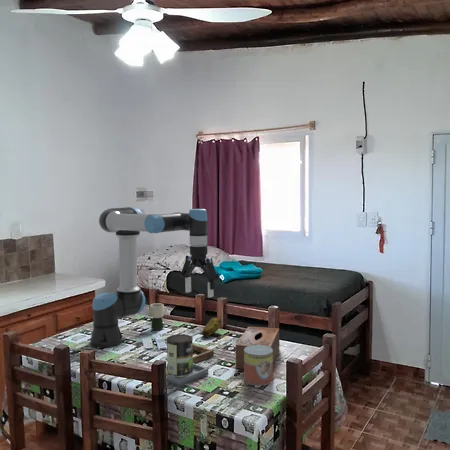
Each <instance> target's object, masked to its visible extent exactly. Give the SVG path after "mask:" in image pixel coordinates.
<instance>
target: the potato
mask: <svg viewBox="0 0 450 450" xmlns="http://www.w3.org/2000/svg"><path fill="white" fill-rule="evenodd" d="M222 324H223V320H222V319H221V318H219V317H212V318H211V319H210V320H208V322H207V323H206V325H205V326H204V328H203V329H202V336H203V337H205V338H207V337H210V336H212V335H214V334H215V333H216V332H217V331H218V330H219V329H221V328H222Z"/></svg>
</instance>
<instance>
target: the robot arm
mask: <svg viewBox="0 0 450 450" xmlns="http://www.w3.org/2000/svg"><path fill="white" fill-rule="evenodd" d="M188 212H189V213H188ZM188 212H187V213H186V212H173V213H163V214H151V213H150V214H148V213H147V214H146V213H145V214H143V212H142V211H141V210H140V209H139V208H137V207H133V206H132V207H130V206H129V207H128V206H127V207H126V206H125V207H117V208H116V207H115V208H113V207H112V208H106V210H103V212H101V214H100V215H99V218H98V224H99V226H100V228H101V229H102V230H104V231H105V232H107V233H115V235H116V237H117V238H118V252H119V253H118V255H119V256H118V257H119V259H118V262H119V267H118V268H119V286H118V287H117V288H116V292H113V291H112V292H111V291H110V292H103V293H100V294H98V295H95V297H94V298H93V299H92V306H91V307H92V321H93V322H92V324H93V329H92V333H91V336H90V340H89V344H90V346H91V347H94V348H99V349H102V348H103V349H104V348H112V347H117V346H119V345H121V344H122V343H123V335H122V333H121V332H122V331H121V329H120V326H119V319H122V318H125V317H129V316H134V315H137V314H139V313H142V311H143V310H144V308H145V306H146V296H145V293H144V292H143V291H142V290H141V287H140V286H139V285H138V243H137V242H138V241H137V239H138V237H139V236H140V232H147V233H149V234H159V233H160V234H161V233H168V232H169V233H170V232H175V231H176V232H177V231H188V232H189V245H190V246H189V254H188V255H185V261H184V262H183V263H184V264H183V266H182V269H181V271H180V276H182V277H184V285H185V293H186V294H188V293H191V292H192V277H191V275H192V273H193V272H194V269H195V268H200V269H201V270H202V272H203V273H204V274H205V276H206V278H207V280H208V281H207V298H209V299H210V298H212V297H214V296H215V295H214V290H215V283H216V281H219V276H218V273H217V271H216V269H215V266H214V263H213V257H208V256H207V254H208V246H207V245H208V212H207V210H206V209H205V208H191V209H189V211H188ZM207 257H208V258H207Z"/></svg>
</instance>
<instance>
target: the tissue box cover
mask: <svg viewBox="0 0 450 450" xmlns="http://www.w3.org/2000/svg"><path fill="white" fill-rule="evenodd" d="M250 345H265V346H269V347H271V348H272V349H273V364H274V363H275V360H276V359H277V356H278V353H279V351H280V328H277V327H276V328H275V327H261V326H247V328H246V329H245V331H244V332H243V334H242V335H241V337H239V339H238V341H237V342H236V343H235V368H236V369H244V348H245V347H247V346H250Z"/></svg>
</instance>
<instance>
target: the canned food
mask: <svg viewBox="0 0 450 450" xmlns="http://www.w3.org/2000/svg"><path fill="white" fill-rule="evenodd" d="M243 375H244V376H243V382H245V383H246V384H248V385H250V386H257V387H261V386H262V385H264V386H268V385H270V384H272V383H273V382H274V377H273V376H274V363H273V349H272V348H271V347H269V346H265V345H250V346H247V347H245V348H244V368H243ZM272 381H273V382H272ZM271 382H272V383H271ZM267 384H268V385H267ZM262 387H263V386H262Z"/></svg>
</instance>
